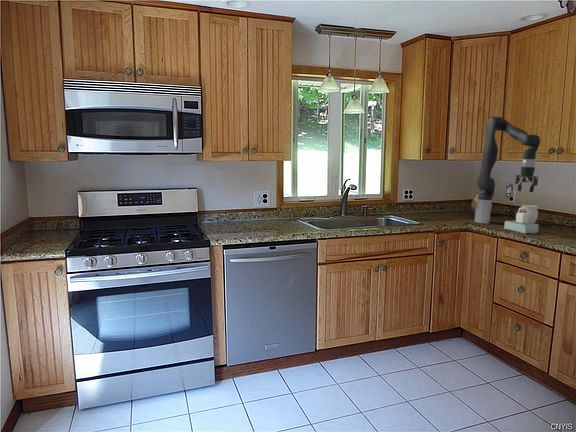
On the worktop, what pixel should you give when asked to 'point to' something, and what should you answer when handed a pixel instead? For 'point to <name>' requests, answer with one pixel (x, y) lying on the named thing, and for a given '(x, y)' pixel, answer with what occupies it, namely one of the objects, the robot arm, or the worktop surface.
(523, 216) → the cream box
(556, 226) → the worktop surface
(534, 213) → the pitcher
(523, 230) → the tote
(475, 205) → the ceramic jug
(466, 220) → the worktop surface
